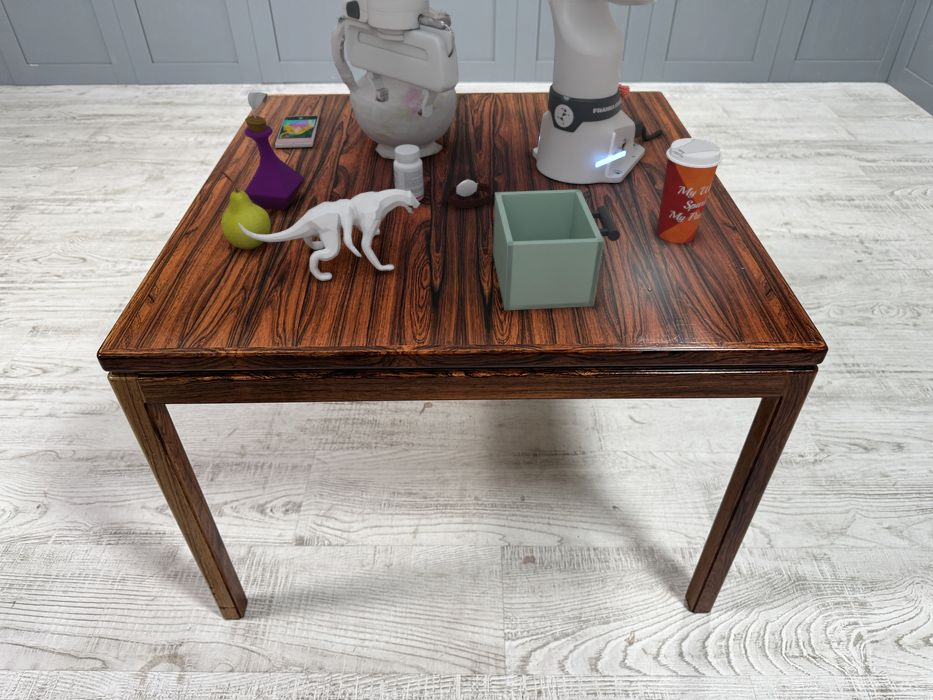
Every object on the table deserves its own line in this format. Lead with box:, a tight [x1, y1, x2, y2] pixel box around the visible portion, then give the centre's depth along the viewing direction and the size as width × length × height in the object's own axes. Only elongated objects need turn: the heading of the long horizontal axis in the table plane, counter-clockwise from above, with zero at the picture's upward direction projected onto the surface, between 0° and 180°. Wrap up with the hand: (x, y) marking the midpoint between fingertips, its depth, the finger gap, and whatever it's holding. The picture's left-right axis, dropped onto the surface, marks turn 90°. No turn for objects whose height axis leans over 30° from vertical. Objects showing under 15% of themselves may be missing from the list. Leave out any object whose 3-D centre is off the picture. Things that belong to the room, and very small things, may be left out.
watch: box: [446, 178, 493, 209], centre depth 108 cm, size 8×5×4 cm, turn 107°
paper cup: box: [657, 137, 723, 244], centre depth 97 cm, size 8×8×14 cm
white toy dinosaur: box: [238, 188, 421, 282], centre depth 92 cm, size 12×25×10 cm, turn 107°
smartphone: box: [274, 114, 320, 149], centre depth 131 cm, size 7×1×15 cm
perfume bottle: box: [243, 91, 305, 211], centre depth 103 cm, size 8×8×18 cm
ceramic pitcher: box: [330, 6, 458, 160], centre depth 118 cm, size 22×20×25 cm
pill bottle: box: [393, 144, 425, 202], centre depth 108 cm, size 5×5×8 cm
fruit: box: [220, 170, 272, 251], centre depth 95 cm, size 7×7×12 cm
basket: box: [492, 188, 621, 311], centre depth 89 cm, size 10×14×15 cm
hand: (402, 108), depth 101 cm, fingers open, 8 cm apart
